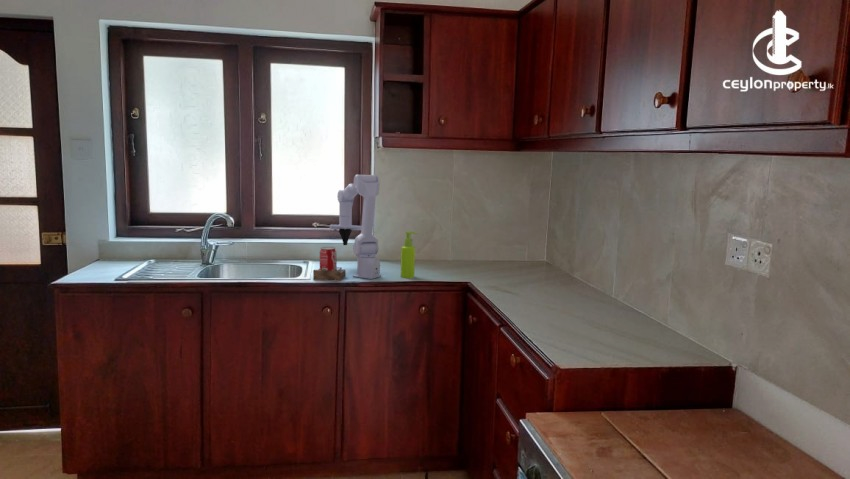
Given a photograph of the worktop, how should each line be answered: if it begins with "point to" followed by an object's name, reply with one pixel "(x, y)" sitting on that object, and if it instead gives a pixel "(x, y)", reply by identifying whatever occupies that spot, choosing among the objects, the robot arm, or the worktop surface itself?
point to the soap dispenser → (408, 257)
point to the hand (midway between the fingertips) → (345, 244)
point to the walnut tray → (328, 275)
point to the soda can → (328, 259)
